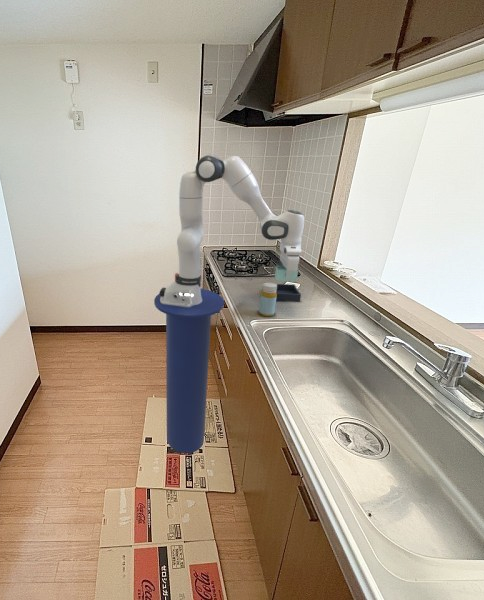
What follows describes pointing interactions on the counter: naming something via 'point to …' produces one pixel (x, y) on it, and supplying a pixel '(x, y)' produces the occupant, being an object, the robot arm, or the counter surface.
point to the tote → (287, 293)
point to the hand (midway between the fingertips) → (285, 275)
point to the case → (281, 274)
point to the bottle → (268, 299)
